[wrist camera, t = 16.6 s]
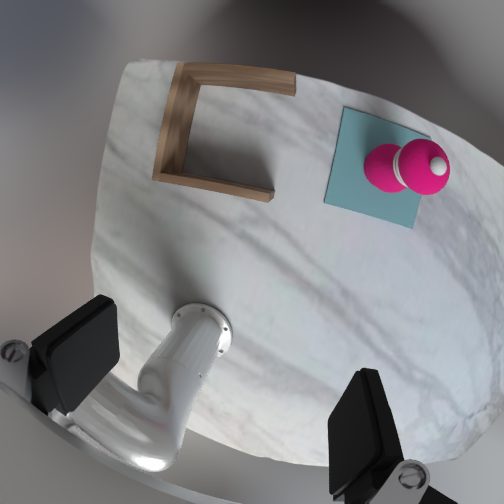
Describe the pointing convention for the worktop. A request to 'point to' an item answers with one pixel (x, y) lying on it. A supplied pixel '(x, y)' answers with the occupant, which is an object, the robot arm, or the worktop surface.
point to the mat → (352, 169)
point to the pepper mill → (408, 167)
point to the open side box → (182, 113)
